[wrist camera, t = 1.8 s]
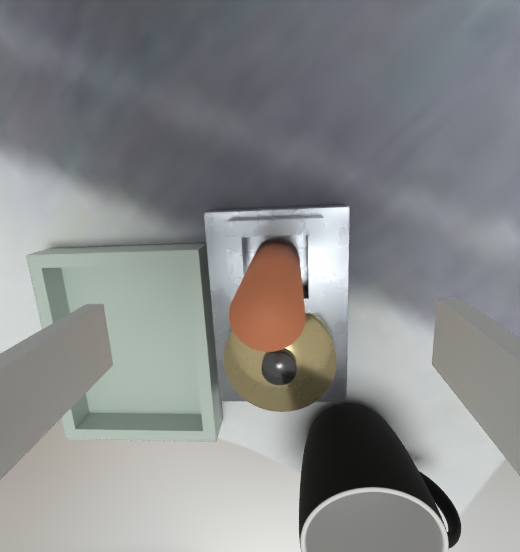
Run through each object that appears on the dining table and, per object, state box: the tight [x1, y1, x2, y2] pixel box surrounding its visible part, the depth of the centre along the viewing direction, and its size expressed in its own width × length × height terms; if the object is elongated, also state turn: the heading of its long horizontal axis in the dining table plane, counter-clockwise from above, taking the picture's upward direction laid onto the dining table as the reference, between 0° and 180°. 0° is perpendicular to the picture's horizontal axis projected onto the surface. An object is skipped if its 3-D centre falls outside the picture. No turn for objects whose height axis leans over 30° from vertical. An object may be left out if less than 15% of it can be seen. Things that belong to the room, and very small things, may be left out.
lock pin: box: [229, 238, 306, 352], centre depth 20 cm, size 3×3×11 cm
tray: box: [26, 243, 223, 442], centre depth 29 cm, size 16×13×3 cm
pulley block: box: [204, 204, 349, 412], centre depth 26 cm, size 15×10×6 cm, turn 3°
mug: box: [299, 404, 461, 552], centre depth 27 cm, size 12×9×10 cm
